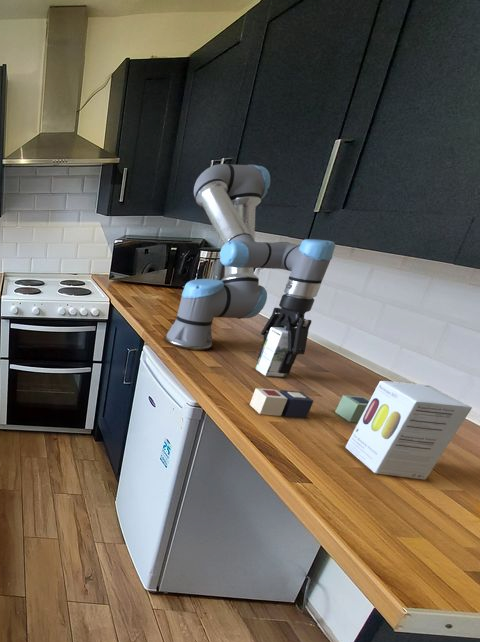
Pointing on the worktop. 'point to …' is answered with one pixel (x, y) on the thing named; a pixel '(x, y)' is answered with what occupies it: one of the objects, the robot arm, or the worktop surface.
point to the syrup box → (273, 352)
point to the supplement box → (406, 429)
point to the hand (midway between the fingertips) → (272, 365)
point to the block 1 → (268, 401)
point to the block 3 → (352, 407)
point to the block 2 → (296, 404)
